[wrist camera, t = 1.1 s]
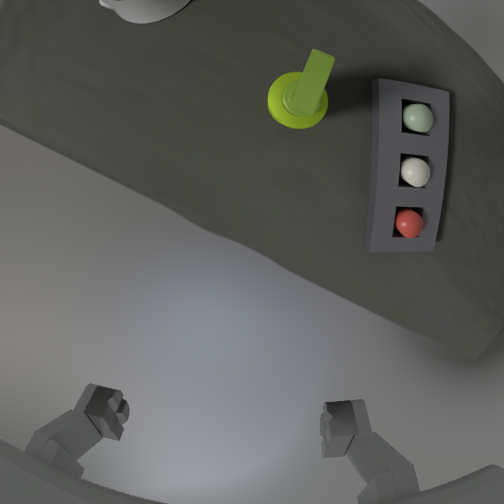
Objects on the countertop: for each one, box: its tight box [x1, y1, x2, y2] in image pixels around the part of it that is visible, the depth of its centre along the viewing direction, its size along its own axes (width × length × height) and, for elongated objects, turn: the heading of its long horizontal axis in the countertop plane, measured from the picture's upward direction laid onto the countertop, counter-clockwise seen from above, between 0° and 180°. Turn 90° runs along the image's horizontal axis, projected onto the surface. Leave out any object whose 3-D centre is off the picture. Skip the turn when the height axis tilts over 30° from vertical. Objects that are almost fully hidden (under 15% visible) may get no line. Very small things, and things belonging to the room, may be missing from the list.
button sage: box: [402, 104, 433, 132], centre depth 34 cm, size 4×4×3 cm
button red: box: [394, 207, 423, 238], centre depth 41 cm, size 4×4×3 cm
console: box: [364, 78, 449, 253], centre depth 39 cm, size 26×12×3 cm, turn 3°
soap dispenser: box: [268, 49, 335, 129], centre depth 28 cm, size 6×7×20 cm
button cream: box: [399, 156, 430, 187], centre depth 37 cm, size 4×4×3 cm
